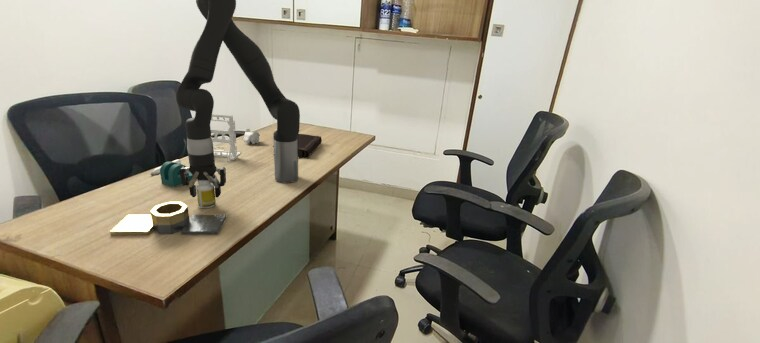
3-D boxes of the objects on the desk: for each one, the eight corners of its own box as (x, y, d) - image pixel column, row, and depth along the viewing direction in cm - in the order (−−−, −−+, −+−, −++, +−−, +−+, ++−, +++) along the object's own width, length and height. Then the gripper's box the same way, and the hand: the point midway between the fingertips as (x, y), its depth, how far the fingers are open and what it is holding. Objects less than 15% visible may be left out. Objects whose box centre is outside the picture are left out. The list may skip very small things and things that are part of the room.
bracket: (174, 187, 134) (171, 168, 131) (161, 183, 136) (158, 164, 133) (213, 172, 149) (211, 155, 146) (201, 169, 152) (199, 151, 149)
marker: (149, 178, 141) (178, 164, 156) (153, 176, 141) (182, 163, 155) (146, 172, 141) (175, 159, 155) (149, 171, 140) (178, 157, 154)
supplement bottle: (219, 203, 124) (216, 177, 121) (207, 210, 120) (204, 183, 116) (206, 200, 126) (203, 174, 122) (194, 206, 121) (191, 180, 117)
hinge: (226, 218, 116) (224, 201, 113) (217, 234, 107) (215, 216, 104) (128, 217, 111) (125, 200, 109) (110, 235, 102) (106, 216, 100)
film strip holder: (243, 152, 174) (240, 112, 166) (231, 162, 161) (228, 119, 154) (214, 150, 174) (210, 109, 166) (200, 159, 161) (194, 116, 154)
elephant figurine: (239, 143, 186) (238, 130, 184) (254, 139, 194) (253, 127, 191) (248, 146, 182) (247, 133, 180) (263, 143, 190) (263, 130, 187)
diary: (322, 144, 196) (322, 135, 194) (308, 159, 173) (308, 149, 171) (289, 141, 198) (288, 132, 196) (271, 155, 174) (271, 145, 173)
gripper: (227, 147, 120) (230, 192, 126) (181, 146, 118) (187, 191, 124) (220, 154, 113) (225, 201, 119) (172, 153, 111) (179, 201, 117)
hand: (206, 196), depth 121 cm, fingers open, 7 cm apart
